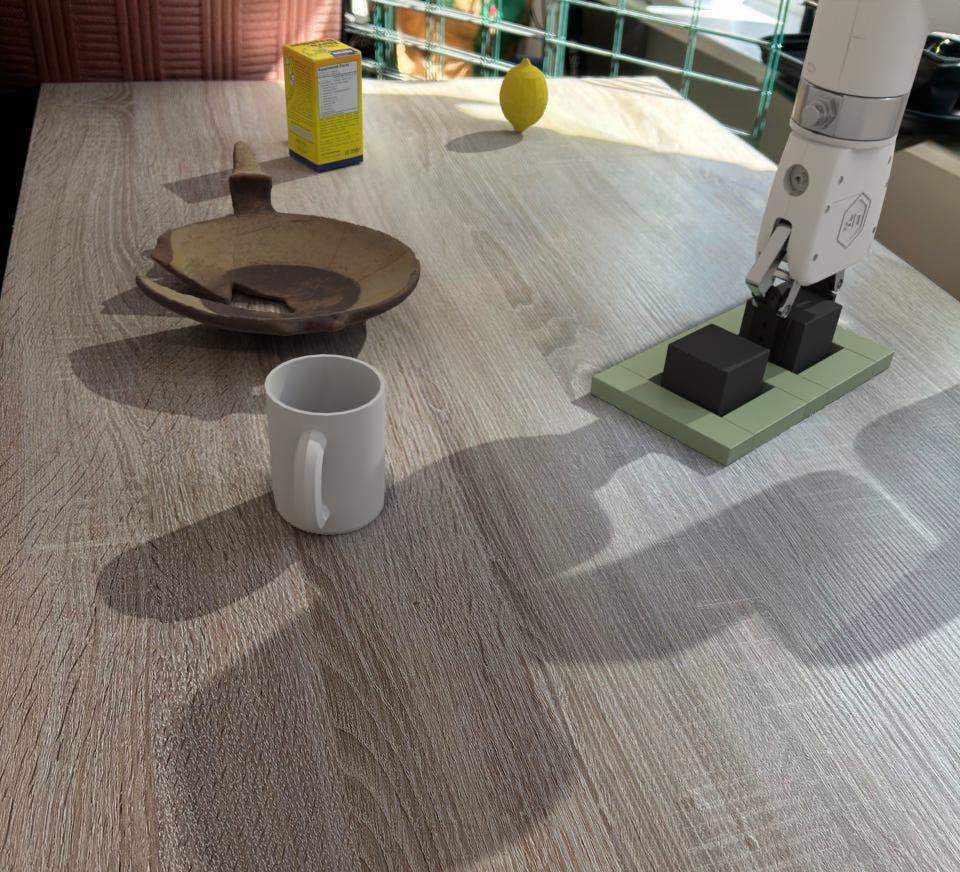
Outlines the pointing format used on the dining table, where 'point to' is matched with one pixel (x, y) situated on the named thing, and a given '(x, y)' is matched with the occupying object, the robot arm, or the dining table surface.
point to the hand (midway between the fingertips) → (784, 342)
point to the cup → (327, 442)
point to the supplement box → (323, 103)
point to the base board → (754, 421)
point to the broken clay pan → (280, 264)
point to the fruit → (523, 95)
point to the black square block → (803, 329)
